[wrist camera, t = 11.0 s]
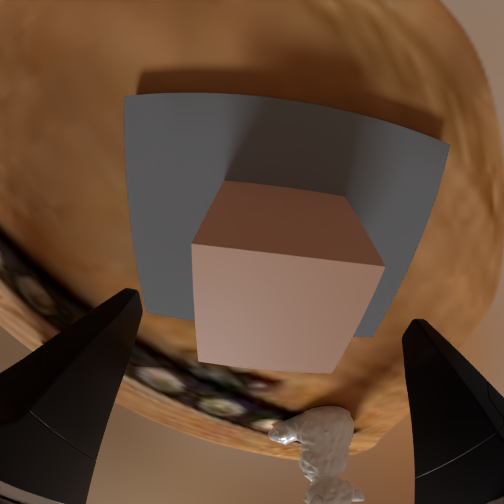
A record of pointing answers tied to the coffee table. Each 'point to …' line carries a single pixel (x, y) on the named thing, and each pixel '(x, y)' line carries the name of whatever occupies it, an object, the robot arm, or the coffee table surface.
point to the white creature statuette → (322, 452)
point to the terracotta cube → (280, 278)
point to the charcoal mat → (268, 179)
